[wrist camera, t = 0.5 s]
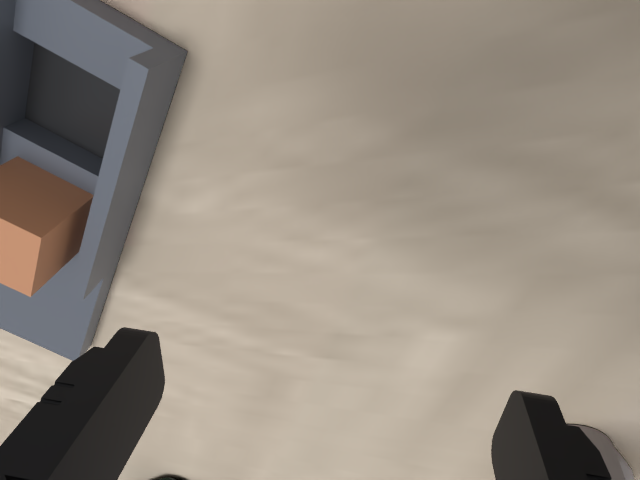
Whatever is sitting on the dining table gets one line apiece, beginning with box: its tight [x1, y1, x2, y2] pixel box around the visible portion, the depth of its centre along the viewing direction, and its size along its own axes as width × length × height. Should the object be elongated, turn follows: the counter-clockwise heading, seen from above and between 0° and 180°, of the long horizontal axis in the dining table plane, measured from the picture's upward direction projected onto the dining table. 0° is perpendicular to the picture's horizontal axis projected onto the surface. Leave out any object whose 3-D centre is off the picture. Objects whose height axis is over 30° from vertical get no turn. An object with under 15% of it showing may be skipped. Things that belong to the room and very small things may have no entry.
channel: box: [0, 0, 188, 361], centre depth 29 cm, size 28×9×4 cm, turn 152°
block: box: [0, 156, 94, 297], centre depth 27 cm, size 5×5×5 cm
